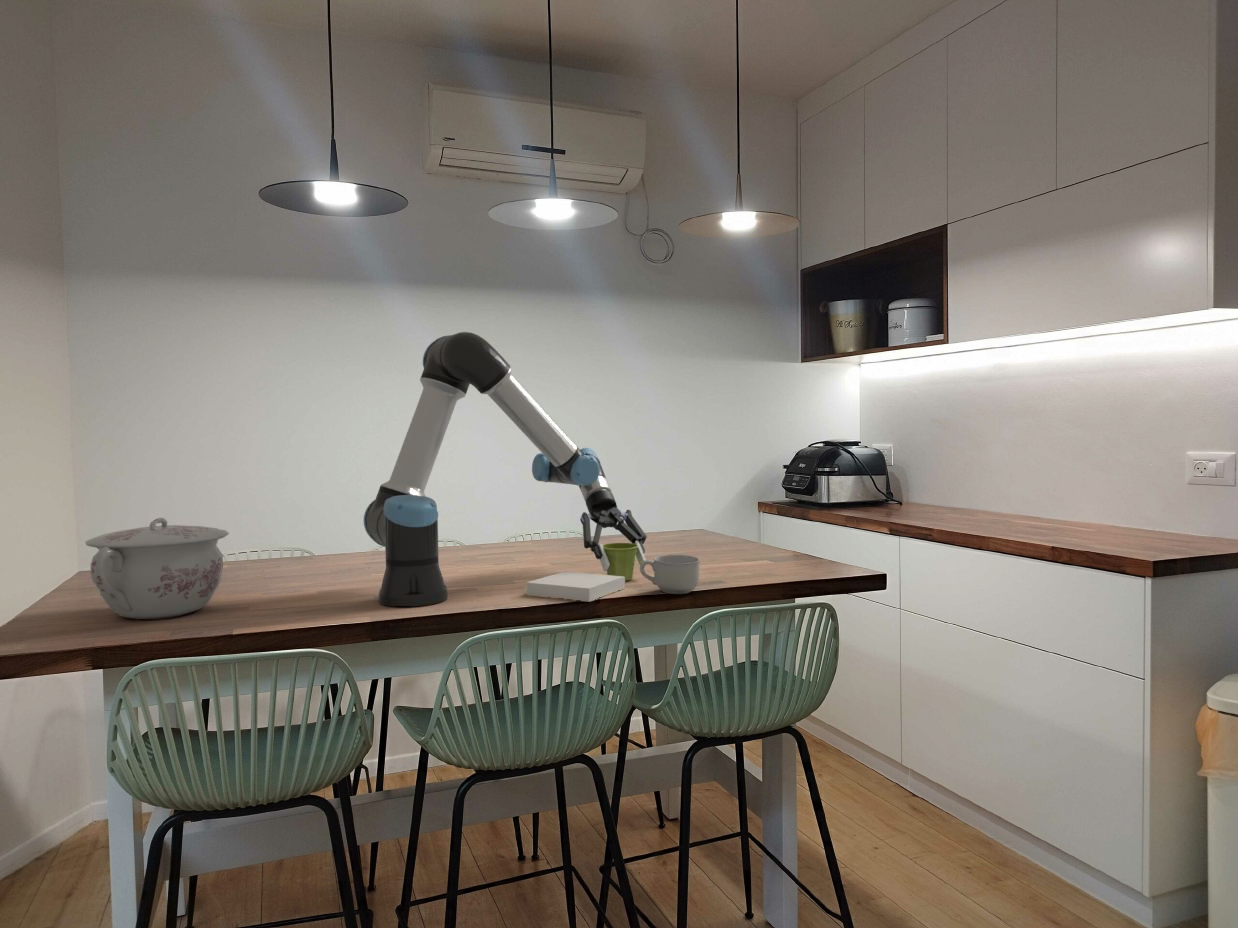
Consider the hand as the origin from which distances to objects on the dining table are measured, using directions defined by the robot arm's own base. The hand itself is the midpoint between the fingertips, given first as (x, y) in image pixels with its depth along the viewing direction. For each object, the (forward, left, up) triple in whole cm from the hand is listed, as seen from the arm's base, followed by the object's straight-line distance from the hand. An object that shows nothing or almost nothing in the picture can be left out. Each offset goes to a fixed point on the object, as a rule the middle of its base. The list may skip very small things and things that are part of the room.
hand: (625, 566), depth 215 cm
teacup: (+15, -6, -4) cm, 17 cm away
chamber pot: (-74, -74, -4) cm, 105 cm away
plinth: (-4, -16, -4) cm, 17 cm away
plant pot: (-3, +2, -4) cm, 5 cm away
